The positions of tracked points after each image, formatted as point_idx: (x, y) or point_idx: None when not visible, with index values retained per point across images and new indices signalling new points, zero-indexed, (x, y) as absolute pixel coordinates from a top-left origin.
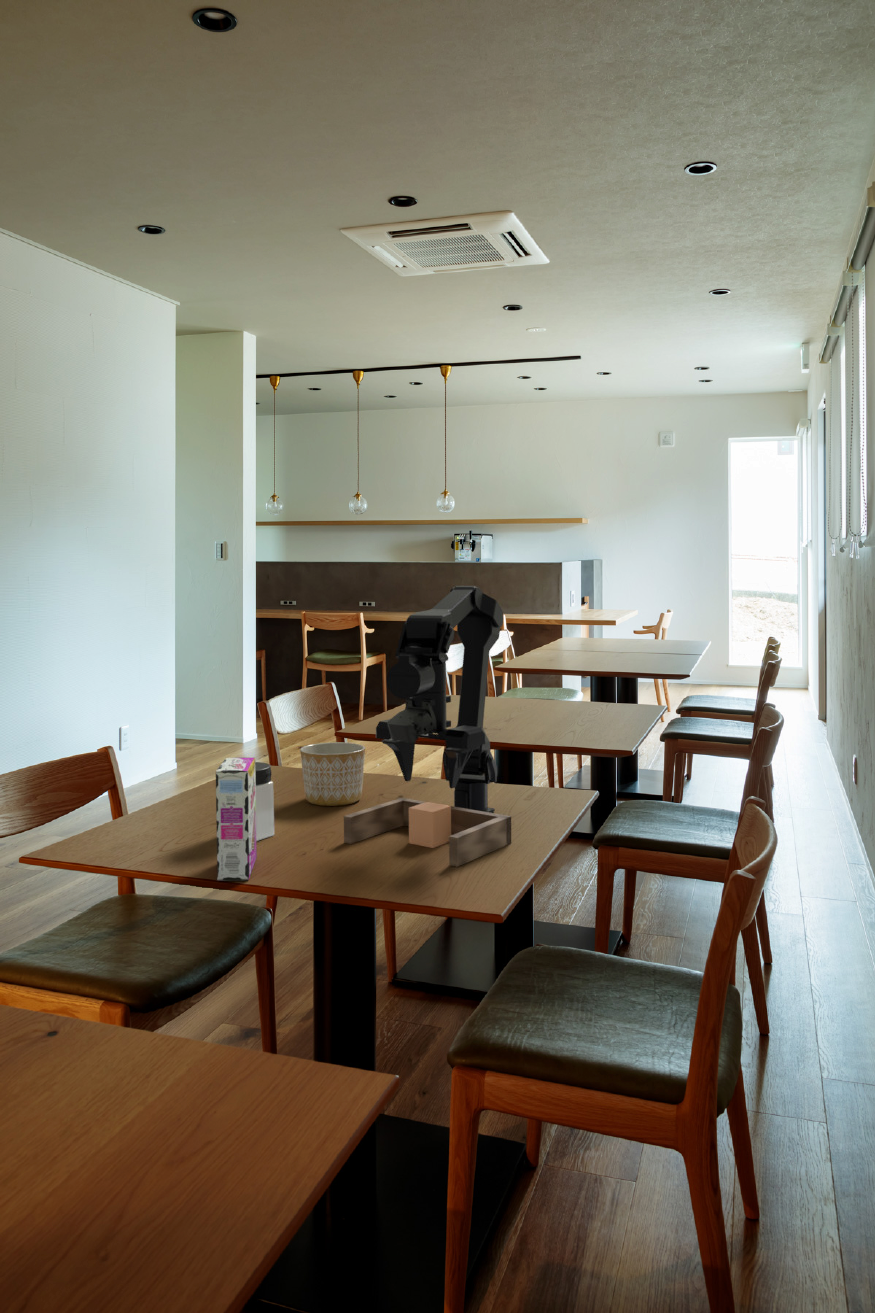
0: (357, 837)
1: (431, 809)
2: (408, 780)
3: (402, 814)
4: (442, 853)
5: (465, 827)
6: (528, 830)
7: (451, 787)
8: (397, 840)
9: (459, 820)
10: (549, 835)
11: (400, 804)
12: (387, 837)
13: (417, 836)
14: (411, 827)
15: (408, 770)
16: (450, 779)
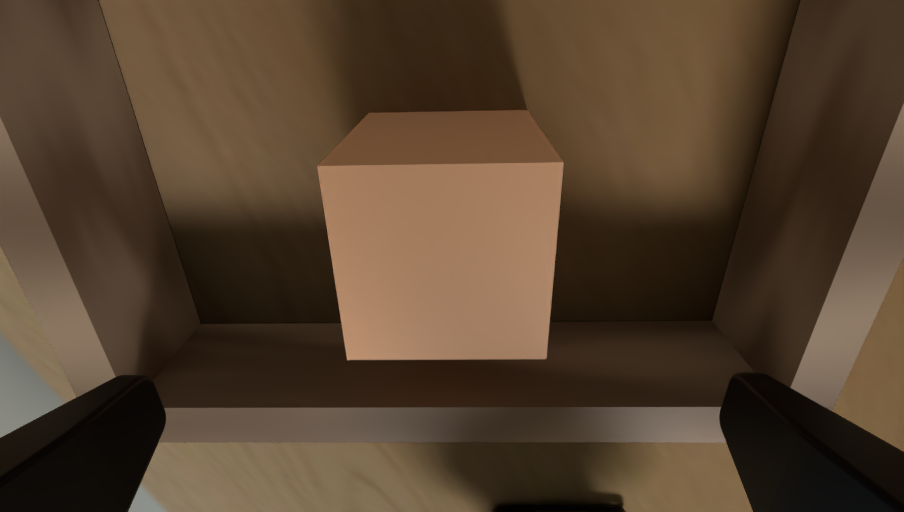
0: None
1: (384, 224)
2: (729, 396)
3: (741, 349)
4: (266, 62)
5: None
6: (258, 489)
7: (117, 379)
8: (609, 114)
9: (388, 368)
10: (163, 479)
11: (779, 375)
12: (688, 127)
13: (470, 119)
14: (518, 128)
15: (802, 502)
16: (31, 437)
